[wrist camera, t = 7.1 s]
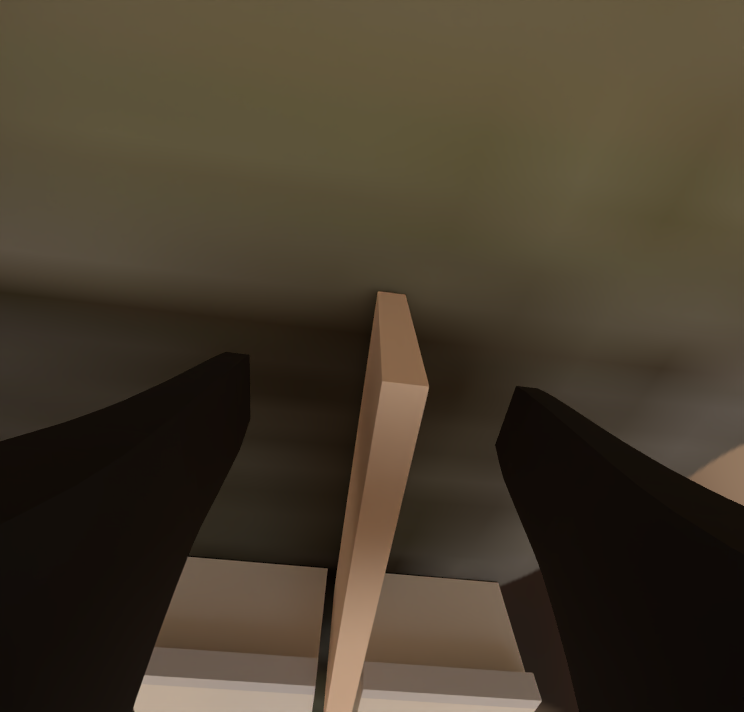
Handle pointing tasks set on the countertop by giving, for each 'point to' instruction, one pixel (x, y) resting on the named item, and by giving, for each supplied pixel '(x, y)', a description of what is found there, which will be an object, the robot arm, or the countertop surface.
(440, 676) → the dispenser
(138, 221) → the countertop surface
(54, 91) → the countertop surface
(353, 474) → the thin wooden plank
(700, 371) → the countertop surface
